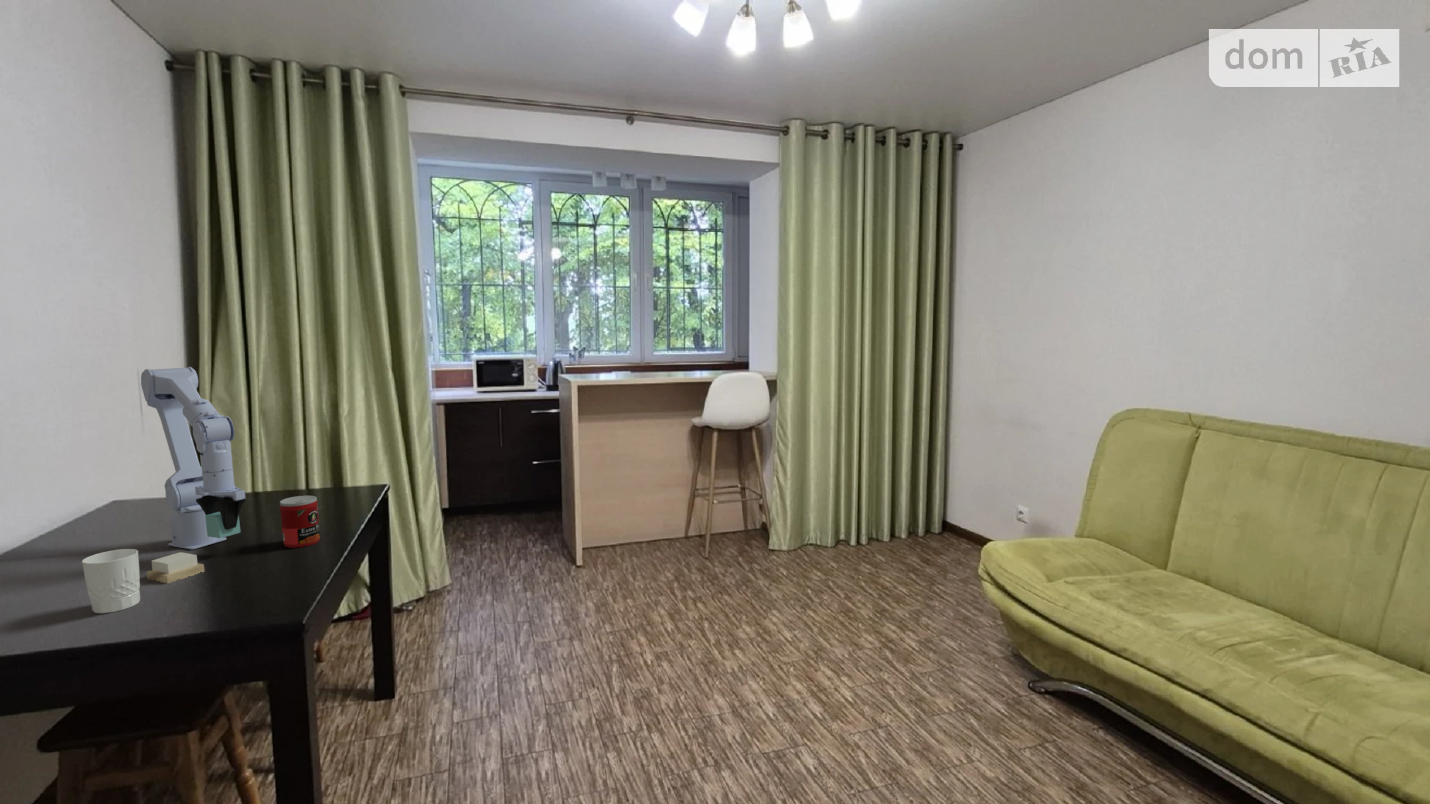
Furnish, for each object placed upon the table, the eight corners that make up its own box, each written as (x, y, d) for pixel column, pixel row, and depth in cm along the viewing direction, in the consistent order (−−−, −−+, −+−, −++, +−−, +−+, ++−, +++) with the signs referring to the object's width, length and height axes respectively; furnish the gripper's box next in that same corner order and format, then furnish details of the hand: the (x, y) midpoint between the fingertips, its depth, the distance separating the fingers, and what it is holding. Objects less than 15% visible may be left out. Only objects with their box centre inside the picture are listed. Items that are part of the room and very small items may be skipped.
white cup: (111, 598, 128) (105, 549, 127) (154, 596, 129) (148, 548, 128) (76, 616, 121) (69, 564, 119) (122, 614, 121) (115, 562, 120)
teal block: (207, 536, 151) (205, 515, 150) (228, 530, 155) (225, 510, 154) (220, 538, 149) (217, 517, 148) (240, 532, 153) (238, 511, 153)
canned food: (303, 549, 156) (299, 504, 154) (275, 547, 157) (270, 503, 156) (328, 538, 163) (324, 496, 162) (301, 537, 165) (297, 494, 163)
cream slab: (152, 570, 139) (151, 560, 138) (181, 561, 144) (180, 552, 143) (168, 573, 137) (167, 563, 136) (197, 564, 142) (196, 555, 141)
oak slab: (147, 581, 138) (146, 571, 138) (184, 569, 145) (183, 560, 145) (168, 586, 136) (166, 576, 136) (204, 574, 142) (203, 564, 142)
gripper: (178, 471, 149) (184, 528, 151) (219, 476, 144) (225, 535, 145) (211, 464, 156) (217, 519, 157) (252, 469, 150) (257, 526, 152)
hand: (223, 527), depth 152 cm, fingers closed on teal block, 4 cm apart
